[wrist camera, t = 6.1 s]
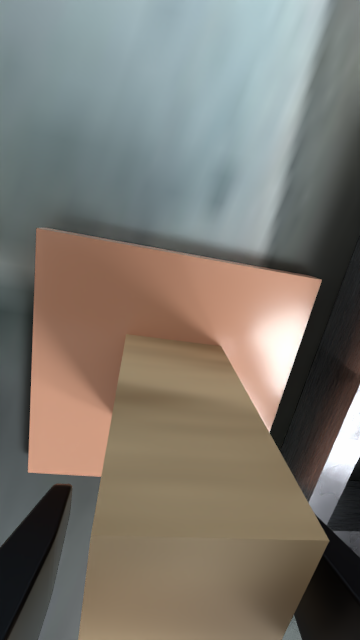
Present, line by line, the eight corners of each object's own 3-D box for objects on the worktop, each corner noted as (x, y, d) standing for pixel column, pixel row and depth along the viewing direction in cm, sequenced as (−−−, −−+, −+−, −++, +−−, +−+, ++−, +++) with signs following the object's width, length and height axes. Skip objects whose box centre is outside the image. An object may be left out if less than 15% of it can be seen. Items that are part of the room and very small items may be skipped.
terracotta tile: (246, 472, 16) (251, 485, 16) (34, 459, 15) (28, 472, 14) (311, 276, 13) (322, 279, 12) (43, 227, 11) (36, 228, 10)
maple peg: (201, 423, 14) (266, 671, 6) (115, 416, 13) (72, 681, 6) (221, 346, 13) (329, 541, 5) (126, 334, 12) (91, 534, 4)
